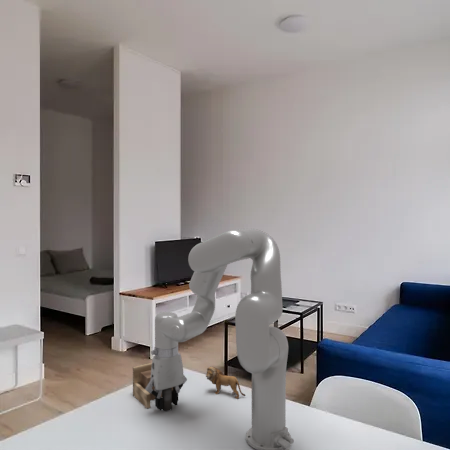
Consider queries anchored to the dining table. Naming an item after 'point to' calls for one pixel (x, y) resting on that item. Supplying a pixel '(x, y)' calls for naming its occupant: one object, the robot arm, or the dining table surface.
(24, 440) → the dining table surface
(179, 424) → the dining table surface
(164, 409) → the wooden lever toy
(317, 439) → the dining table surface
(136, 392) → the wooden stand
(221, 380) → the lion figurine
